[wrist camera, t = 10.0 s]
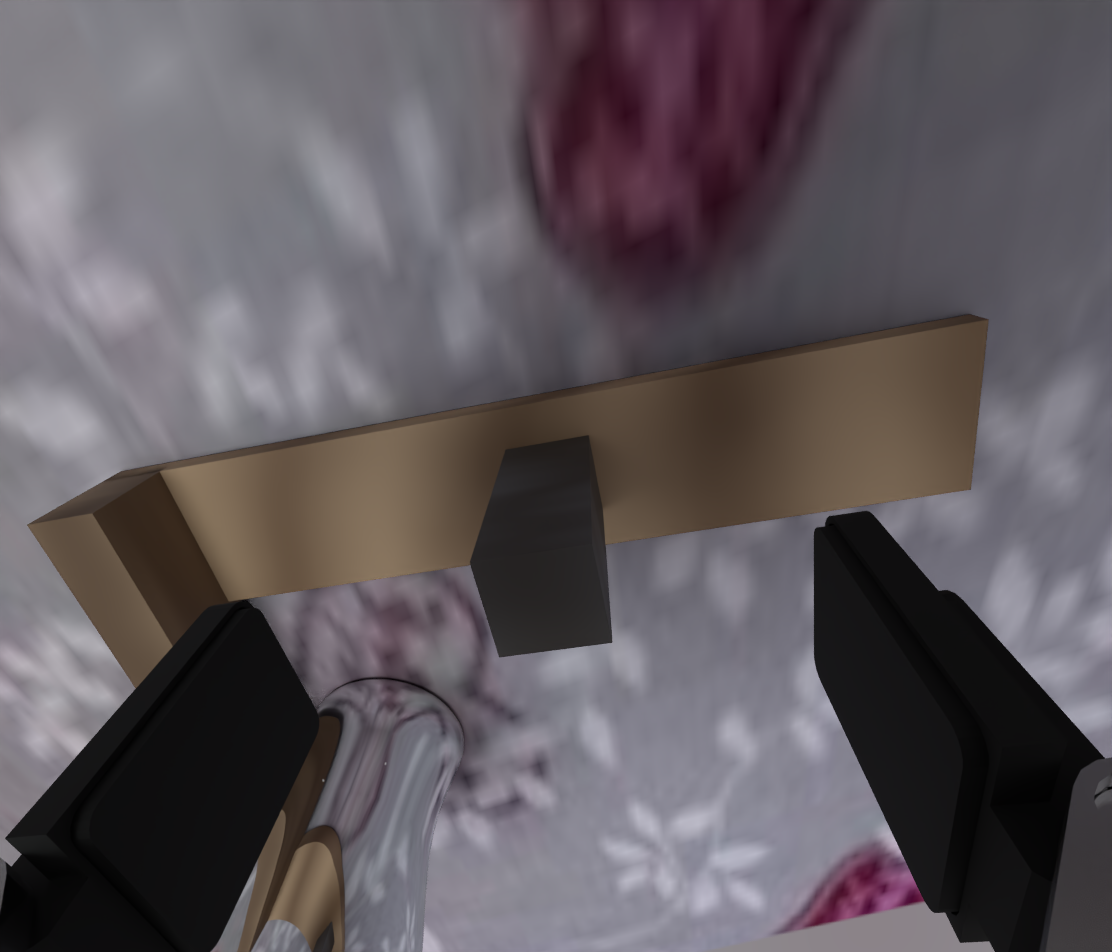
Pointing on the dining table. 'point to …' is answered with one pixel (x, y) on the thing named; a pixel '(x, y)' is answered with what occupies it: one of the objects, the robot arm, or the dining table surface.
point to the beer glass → (354, 829)
